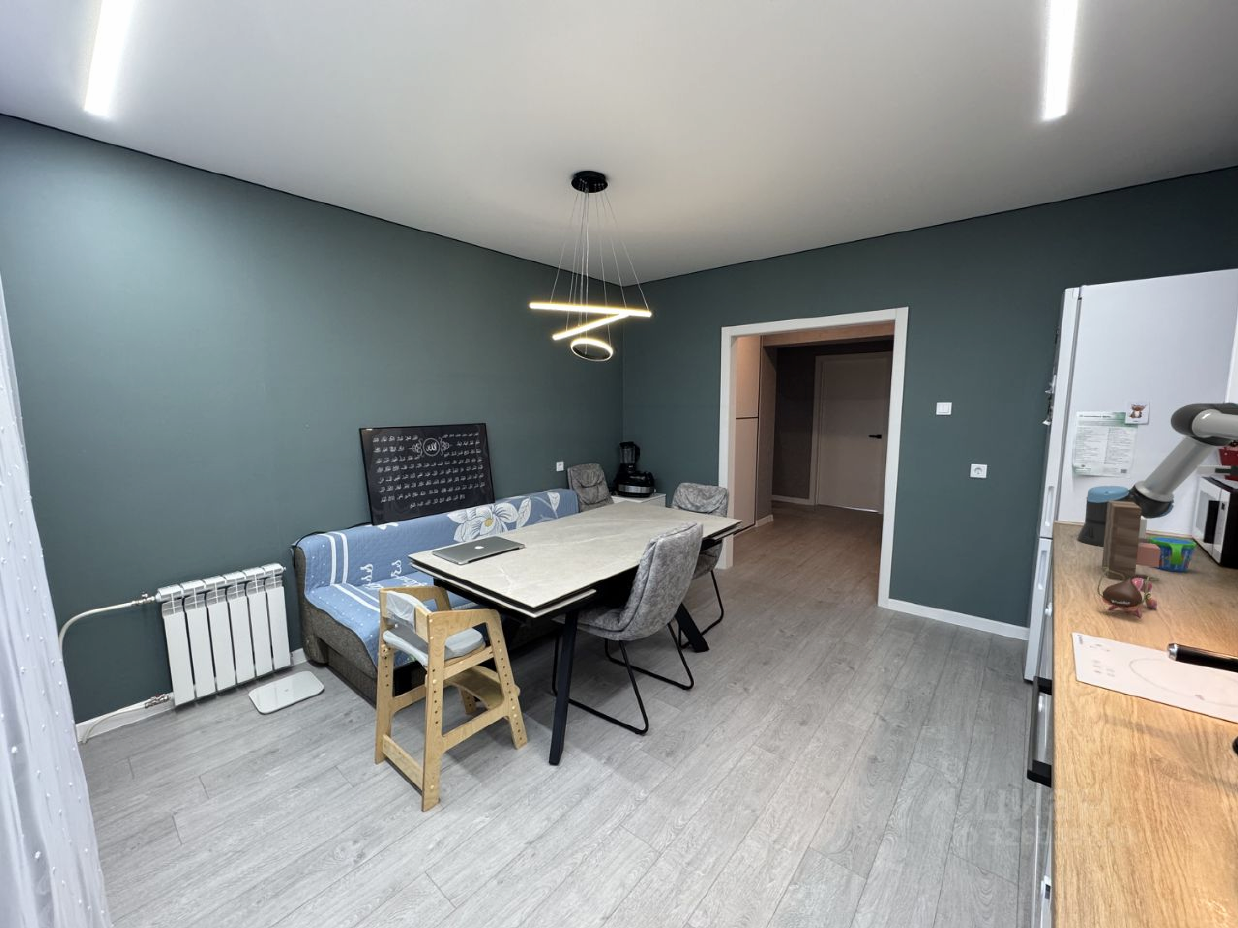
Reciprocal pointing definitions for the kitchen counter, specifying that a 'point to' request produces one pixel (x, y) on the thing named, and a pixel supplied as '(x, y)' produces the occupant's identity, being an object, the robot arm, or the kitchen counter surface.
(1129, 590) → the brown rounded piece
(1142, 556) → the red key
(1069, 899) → the kitchen counter surface
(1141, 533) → the white key
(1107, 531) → the key panel
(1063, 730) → the kitchen counter surface
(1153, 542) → the snack cup
